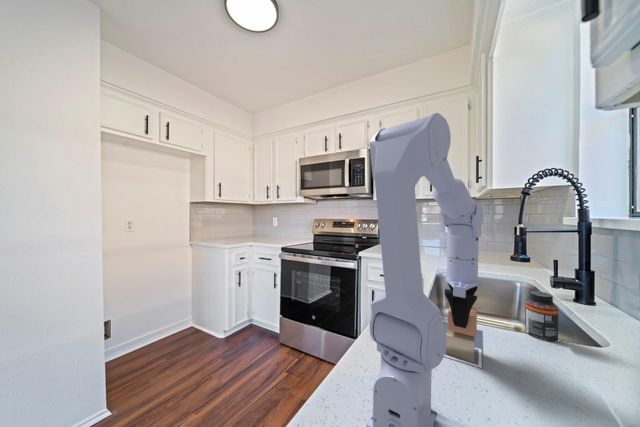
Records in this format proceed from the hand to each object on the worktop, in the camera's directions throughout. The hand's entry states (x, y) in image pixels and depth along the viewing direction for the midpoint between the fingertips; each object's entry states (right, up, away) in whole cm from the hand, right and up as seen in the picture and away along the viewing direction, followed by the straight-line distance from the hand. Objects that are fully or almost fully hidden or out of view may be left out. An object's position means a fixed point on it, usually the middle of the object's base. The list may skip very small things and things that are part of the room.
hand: (460, 321), depth 51 cm
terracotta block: (0, -1, 0) cm, 1 cm away
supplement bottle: (+24, -8, +8) cm, 27 cm away
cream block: (0, -7, 0) cm, 7 cm away
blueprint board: (0, -8, +6) cm, 10 cm away
